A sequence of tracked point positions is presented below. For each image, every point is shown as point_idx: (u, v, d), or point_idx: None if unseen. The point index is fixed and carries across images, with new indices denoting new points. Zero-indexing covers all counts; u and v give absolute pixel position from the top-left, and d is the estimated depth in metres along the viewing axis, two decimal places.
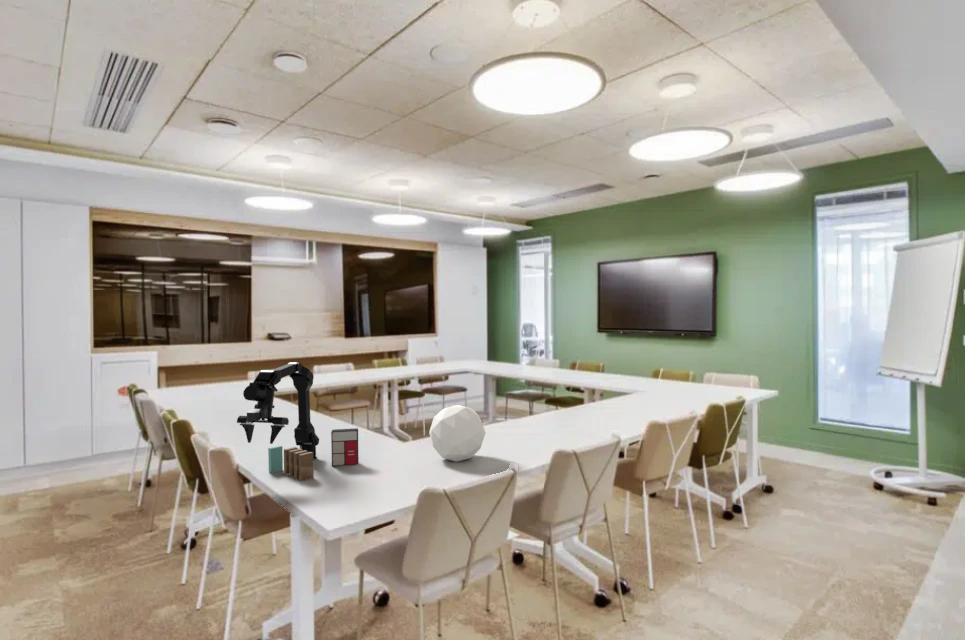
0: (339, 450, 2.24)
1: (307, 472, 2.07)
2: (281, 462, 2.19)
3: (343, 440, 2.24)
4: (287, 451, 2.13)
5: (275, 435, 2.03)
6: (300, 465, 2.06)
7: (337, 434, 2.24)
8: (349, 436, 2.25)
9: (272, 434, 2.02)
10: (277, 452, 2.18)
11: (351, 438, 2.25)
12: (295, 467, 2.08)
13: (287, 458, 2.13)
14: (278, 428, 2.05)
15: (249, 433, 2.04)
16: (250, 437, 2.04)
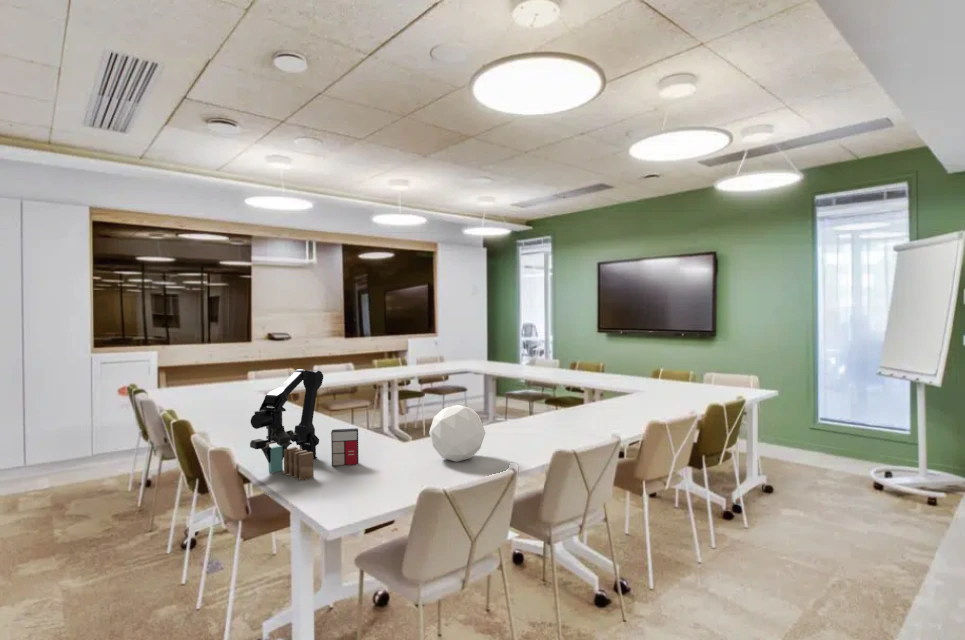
0: (339, 450, 2.24)
1: (307, 472, 2.07)
2: (281, 462, 2.19)
3: (343, 440, 2.24)
4: (287, 451, 2.13)
5: None
6: (300, 465, 2.06)
7: (337, 434, 2.24)
8: (349, 436, 2.25)
9: None
10: (277, 452, 2.18)
11: (351, 438, 2.25)
12: (295, 467, 2.08)
13: (287, 458, 2.13)
14: None
15: None
16: None
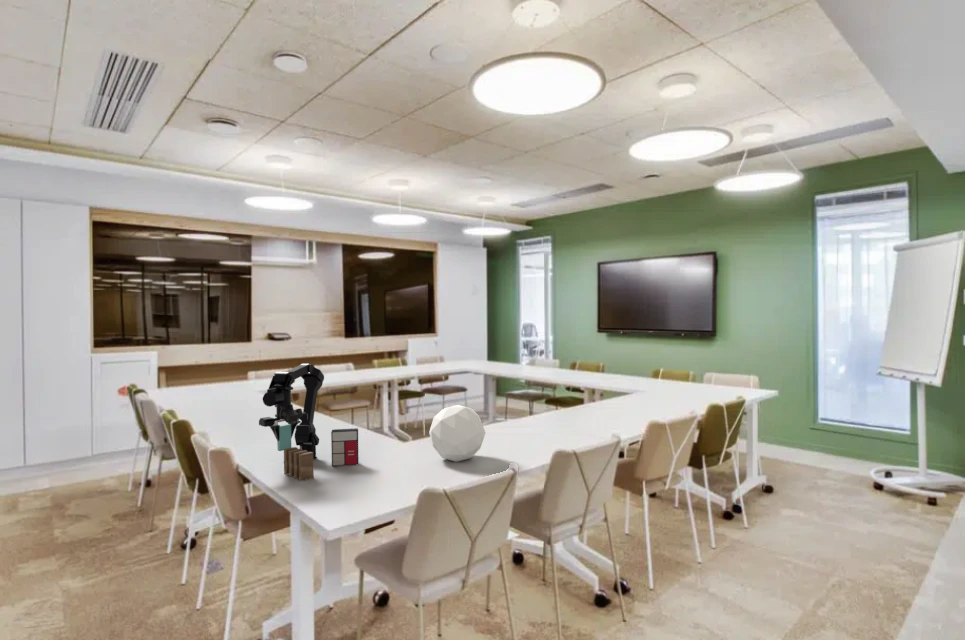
0: (339, 450, 2.24)
1: (307, 472, 2.07)
2: (290, 441, 2.19)
3: (343, 440, 2.24)
4: (287, 451, 2.13)
5: None
6: (300, 465, 2.06)
7: (337, 434, 2.24)
8: (349, 436, 2.25)
9: (293, 430, 2.20)
10: (286, 430, 2.18)
11: (351, 438, 2.25)
12: (295, 467, 2.08)
13: (287, 458, 2.13)
14: None
15: None
16: None
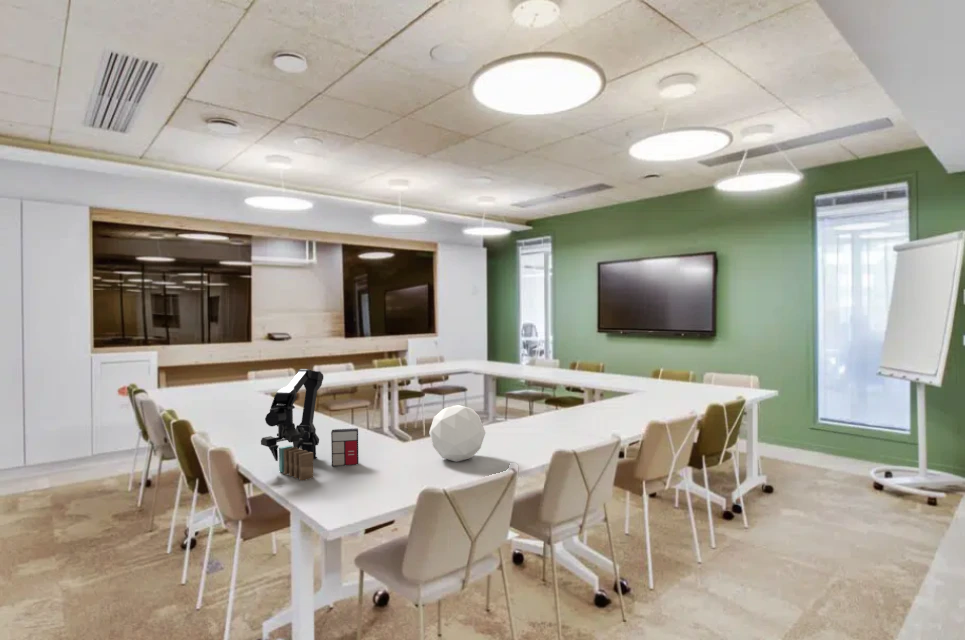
0: (339, 450, 2.24)
1: (307, 472, 2.07)
2: None
3: (343, 440, 2.24)
4: (287, 451, 2.13)
5: None
6: (300, 465, 2.06)
7: (337, 434, 2.24)
8: (349, 436, 2.25)
9: (298, 448, 2.21)
10: None
11: (351, 438, 2.25)
12: (295, 467, 2.08)
13: (287, 458, 2.13)
14: None
15: None
16: None
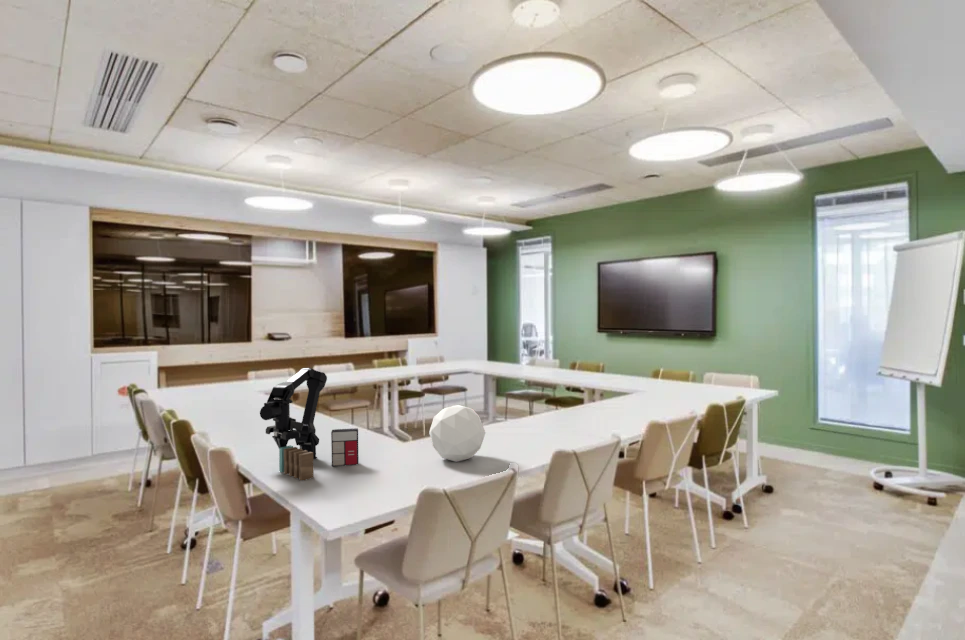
0: (339, 450, 2.24)
1: (307, 472, 2.07)
2: None
3: (343, 440, 2.24)
4: (287, 451, 2.13)
5: None
6: (300, 465, 2.06)
7: (337, 434, 2.24)
8: (349, 436, 2.25)
9: None
10: None
11: (351, 438, 2.25)
12: (295, 467, 2.08)
13: (287, 458, 2.13)
14: None
15: None
16: None
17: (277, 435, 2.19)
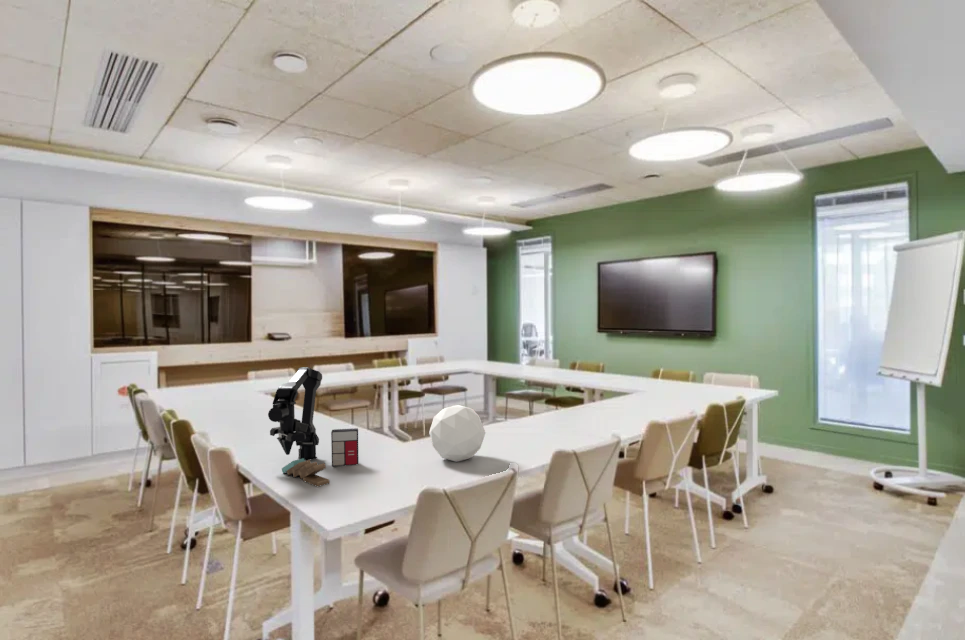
0: (339, 450, 2.24)
1: None
2: None
3: (343, 440, 2.24)
4: None
5: None
6: (311, 483, 2.01)
7: (337, 434, 2.24)
8: (349, 436, 2.25)
9: None
10: None
11: (351, 438, 2.25)
12: (306, 473, 2.04)
13: None
14: None
15: None
16: None
17: (282, 437, 2.17)
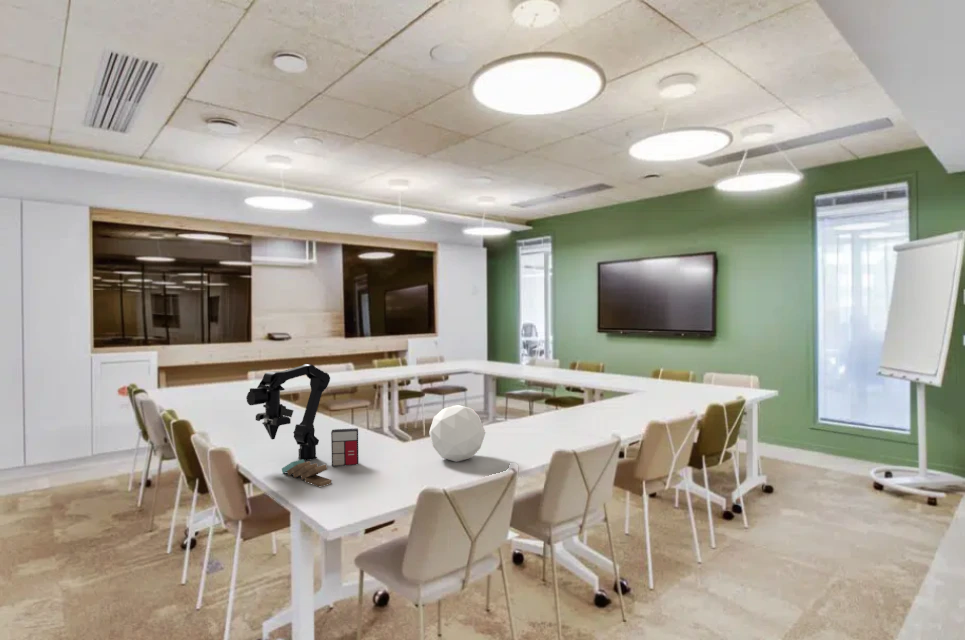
0: (339, 450, 2.24)
1: None
2: None
3: (343, 440, 2.24)
4: None
5: None
6: (313, 483, 2.01)
7: (337, 434, 2.24)
8: (349, 436, 2.25)
9: None
10: None
11: (351, 438, 2.25)
12: (307, 474, 2.04)
13: None
14: None
15: None
16: None
17: (267, 421, 2.21)
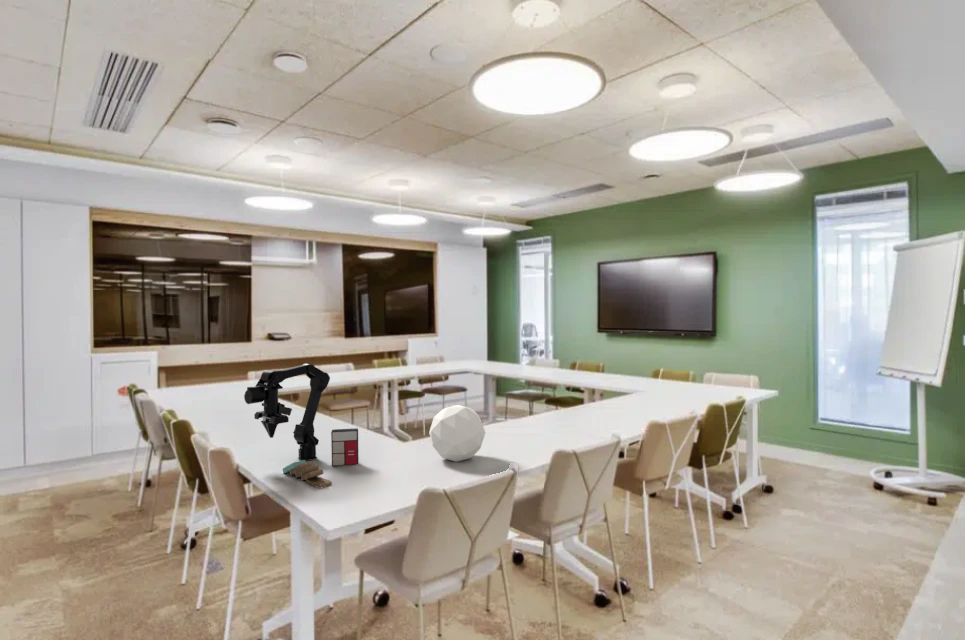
0: (339, 450, 2.24)
1: None
2: None
3: (343, 440, 2.24)
4: (301, 469, 2.06)
5: None
6: (314, 485, 1.99)
7: (337, 434, 2.24)
8: (349, 436, 2.25)
9: None
10: None
11: (351, 438, 2.25)
12: (305, 477, 2.02)
13: None
14: None
15: None
16: None
17: (266, 420, 2.21)
